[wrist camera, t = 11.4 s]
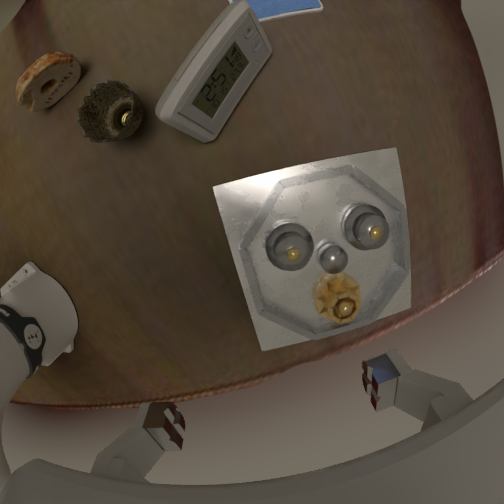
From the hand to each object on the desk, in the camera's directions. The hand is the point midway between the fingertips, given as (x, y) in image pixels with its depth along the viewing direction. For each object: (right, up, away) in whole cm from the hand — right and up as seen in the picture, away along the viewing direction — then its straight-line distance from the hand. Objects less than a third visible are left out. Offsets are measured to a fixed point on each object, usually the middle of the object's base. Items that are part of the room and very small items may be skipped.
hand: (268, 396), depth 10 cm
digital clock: (-4, +27, +20) cm, 34 cm away
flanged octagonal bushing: (+11, 0, +27) cm, 30 cm away
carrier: (+10, +6, +27) cm, 29 cm away
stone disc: (-29, +31, +19) cm, 47 cm away
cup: (-17, +24, +21) cm, 36 cm away
